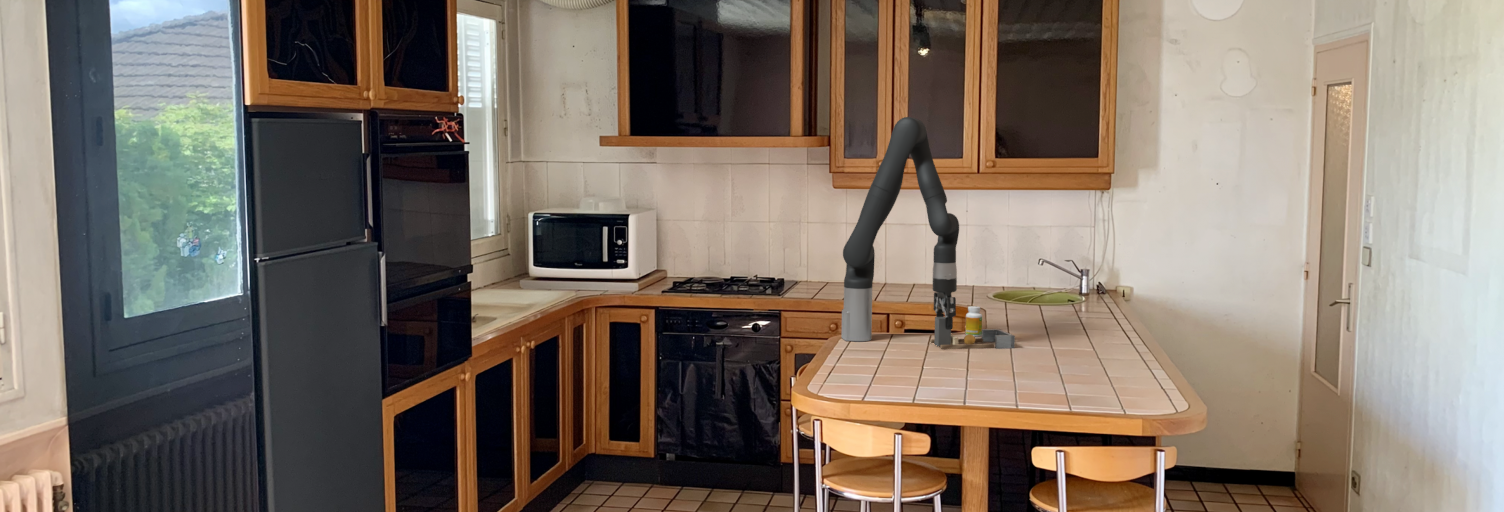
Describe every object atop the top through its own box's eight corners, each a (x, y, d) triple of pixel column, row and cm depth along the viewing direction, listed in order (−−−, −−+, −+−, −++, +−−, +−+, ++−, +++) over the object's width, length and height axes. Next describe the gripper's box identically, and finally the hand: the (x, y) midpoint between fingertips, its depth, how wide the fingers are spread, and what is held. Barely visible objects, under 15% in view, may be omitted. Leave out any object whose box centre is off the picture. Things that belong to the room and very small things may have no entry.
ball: (966, 346, 368) (966, 335, 367) (962, 344, 371) (962, 333, 371) (976, 346, 368) (977, 335, 368) (972, 344, 372) (973, 333, 371)
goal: (996, 348, 364) (996, 336, 364) (981, 341, 377) (981, 329, 377) (1014, 348, 365) (1014, 335, 365) (999, 341, 378) (999, 329, 378)
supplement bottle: (981, 337, 386) (982, 308, 385) (965, 336, 387) (965, 307, 386) (981, 334, 391) (982, 306, 390) (965, 334, 392) (966, 305, 391)
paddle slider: (939, 347, 364) (940, 319, 364) (932, 343, 371) (933, 316, 370) (958, 347, 365) (958, 319, 365) (950, 343, 372) (951, 315, 371)
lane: (941, 349, 362) (941, 345, 362) (930, 343, 373) (930, 339, 373) (994, 348, 365) (994, 344, 365) (981, 342, 376) (981, 338, 376)
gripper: (926, 274, 373) (925, 324, 374) (940, 279, 359) (940, 331, 360) (948, 273, 374) (948, 323, 375) (963, 278, 360) (963, 330, 361)
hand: (944, 327), depth 368 cm, fingers open, 8 cm apart
